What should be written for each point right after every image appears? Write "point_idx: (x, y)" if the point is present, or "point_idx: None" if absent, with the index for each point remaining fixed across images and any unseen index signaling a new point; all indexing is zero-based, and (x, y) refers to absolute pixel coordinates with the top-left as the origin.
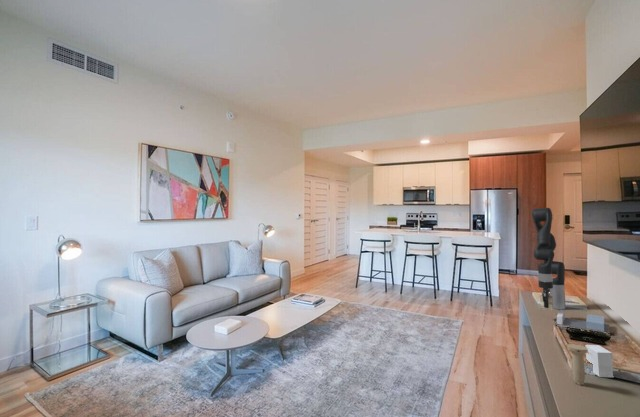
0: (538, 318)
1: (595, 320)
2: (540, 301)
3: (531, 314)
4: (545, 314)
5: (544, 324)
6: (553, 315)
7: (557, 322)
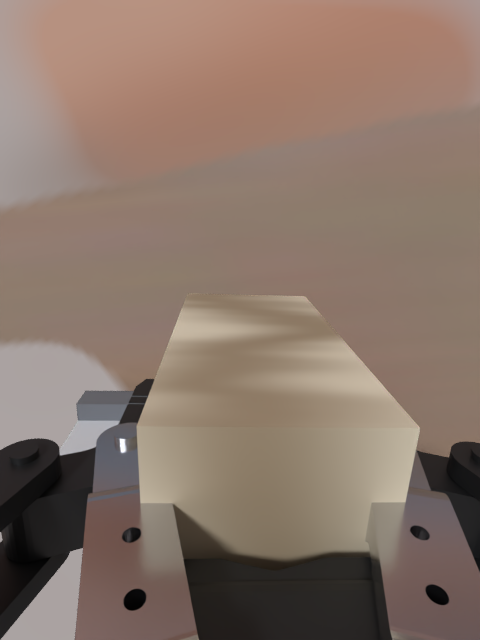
0: (252, 224)
1: None
2: (170, 341)
3: (382, 128)
4: (458, 275)
5: (59, 302)
6: (455, 346)
7: (74, 432)
